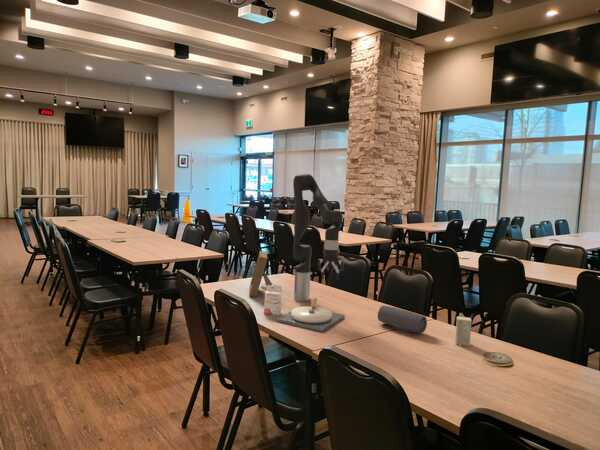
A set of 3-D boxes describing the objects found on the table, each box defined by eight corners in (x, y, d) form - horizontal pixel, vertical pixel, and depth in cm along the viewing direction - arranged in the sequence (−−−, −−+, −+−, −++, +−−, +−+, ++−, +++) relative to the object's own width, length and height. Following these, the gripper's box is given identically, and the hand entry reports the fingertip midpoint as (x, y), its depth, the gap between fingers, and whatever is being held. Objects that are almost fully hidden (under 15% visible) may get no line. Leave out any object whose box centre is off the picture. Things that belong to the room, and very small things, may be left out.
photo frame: (249, 297, 252) (250, 256, 249) (249, 287, 273) (251, 250, 271) (273, 297, 253) (275, 257, 251) (272, 288, 275) (274, 251, 272)
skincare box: (469, 343, 191) (471, 317, 190) (469, 347, 187) (472, 320, 186) (454, 341, 193) (456, 315, 192) (454, 344, 189) (457, 318, 188)
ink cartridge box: (263, 314, 221) (264, 287, 220) (265, 311, 226) (266, 284, 225) (279, 315, 221) (280, 288, 219) (281, 312, 226) (282, 285, 224)
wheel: (303, 307, 230) (303, 295, 229) (338, 314, 219) (339, 301, 219) (283, 317, 211) (283, 304, 211) (320, 326, 201) (321, 312, 200)
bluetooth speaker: (426, 333, 202) (428, 313, 201) (417, 338, 196) (419, 317, 195) (386, 321, 218) (387, 302, 217) (376, 325, 211) (377, 306, 210)
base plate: (301, 308, 233) (301, 304, 233) (344, 317, 220) (344, 313, 220) (276, 321, 210) (276, 317, 210) (322, 332, 198) (322, 327, 198)
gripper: (345, 248, 222) (343, 278, 223) (318, 246, 224) (317, 276, 226) (344, 250, 214) (342, 281, 216) (316, 248, 217) (315, 279, 218)
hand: (329, 279), depth 221 cm, fingers open, 7 cm apart
